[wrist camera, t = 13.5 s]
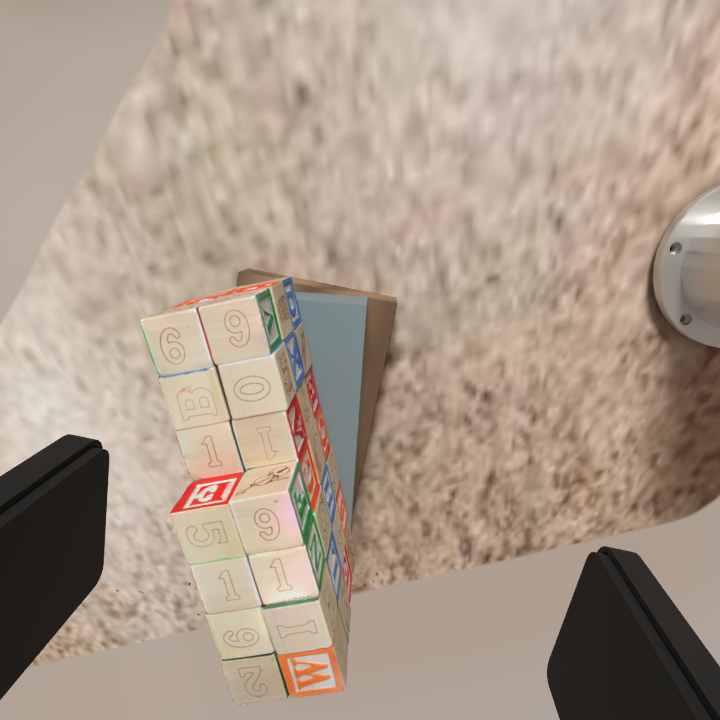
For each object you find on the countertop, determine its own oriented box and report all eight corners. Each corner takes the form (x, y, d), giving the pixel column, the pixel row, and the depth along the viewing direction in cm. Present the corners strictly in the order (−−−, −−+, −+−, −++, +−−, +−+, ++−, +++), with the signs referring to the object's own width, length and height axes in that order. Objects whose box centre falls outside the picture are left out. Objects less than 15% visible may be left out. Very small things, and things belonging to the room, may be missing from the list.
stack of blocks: (202, 292, 34) (104, 329, 22) (292, 274, 33) (242, 301, 21) (278, 562, 39) (232, 711, 27) (356, 550, 38) (346, 697, 26)
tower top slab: (367, 296, 37) (366, 304, 33) (351, 531, 42) (348, 562, 38) (234, 287, 37) (217, 294, 33) (234, 521, 43) (219, 551, 39)
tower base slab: (395, 295, 41) (397, 303, 37) (347, 525, 47) (344, 552, 43) (251, 267, 41) (238, 272, 37) (221, 501, 47) (206, 526, 43)
